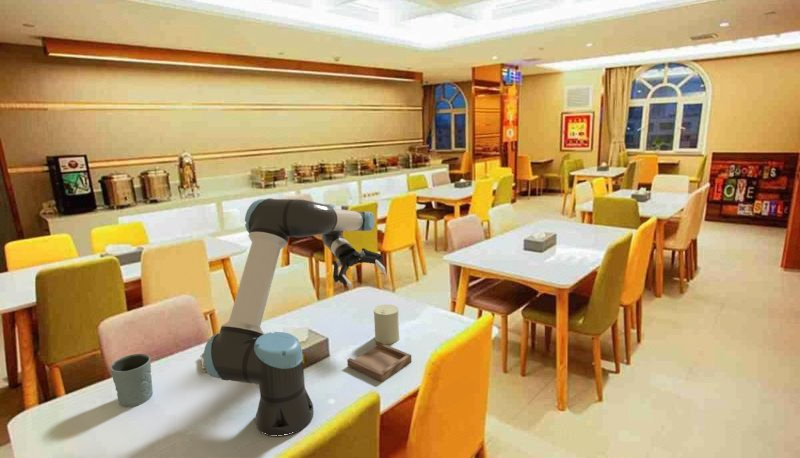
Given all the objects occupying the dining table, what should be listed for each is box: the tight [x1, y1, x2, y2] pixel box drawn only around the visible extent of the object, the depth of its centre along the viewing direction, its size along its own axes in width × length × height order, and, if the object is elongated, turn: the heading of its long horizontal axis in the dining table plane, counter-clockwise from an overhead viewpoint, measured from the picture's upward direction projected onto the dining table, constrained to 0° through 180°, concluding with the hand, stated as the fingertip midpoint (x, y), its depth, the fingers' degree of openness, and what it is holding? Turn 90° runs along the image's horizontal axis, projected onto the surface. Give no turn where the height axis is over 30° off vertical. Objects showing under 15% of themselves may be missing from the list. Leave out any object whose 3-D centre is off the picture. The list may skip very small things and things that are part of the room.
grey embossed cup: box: [109, 353, 154, 408], centre depth 128 cm, size 10×10×12 cm
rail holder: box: [346, 341, 412, 383], centre depth 143 cm, size 15×15×2 cm
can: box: [373, 304, 401, 345], centre depth 160 cm, size 9×9×12 cm
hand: (368, 278), depth 155 cm, fingers open, 13 cm apart
